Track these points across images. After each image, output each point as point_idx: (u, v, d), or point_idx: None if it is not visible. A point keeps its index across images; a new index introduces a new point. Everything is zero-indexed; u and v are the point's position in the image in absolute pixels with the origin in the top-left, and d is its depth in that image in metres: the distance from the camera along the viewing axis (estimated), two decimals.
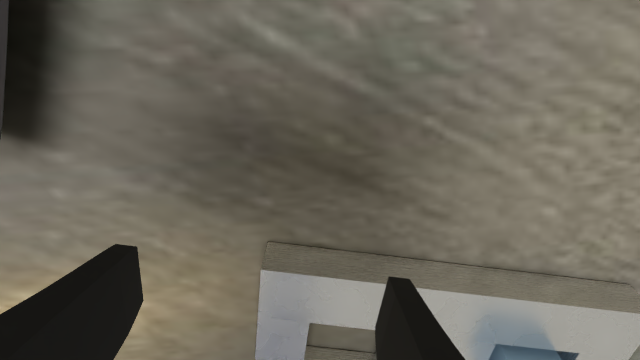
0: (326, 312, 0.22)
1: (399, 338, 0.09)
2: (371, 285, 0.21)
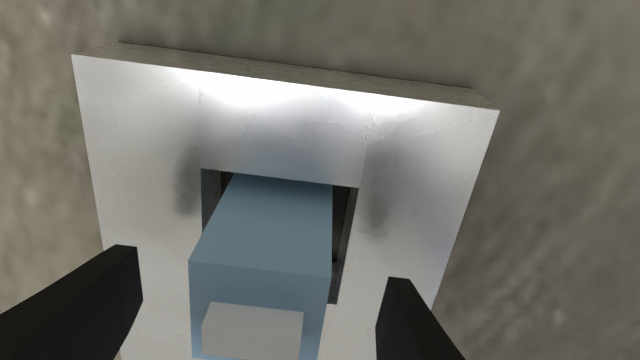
0: None
1: (399, 338, 0.09)
2: None
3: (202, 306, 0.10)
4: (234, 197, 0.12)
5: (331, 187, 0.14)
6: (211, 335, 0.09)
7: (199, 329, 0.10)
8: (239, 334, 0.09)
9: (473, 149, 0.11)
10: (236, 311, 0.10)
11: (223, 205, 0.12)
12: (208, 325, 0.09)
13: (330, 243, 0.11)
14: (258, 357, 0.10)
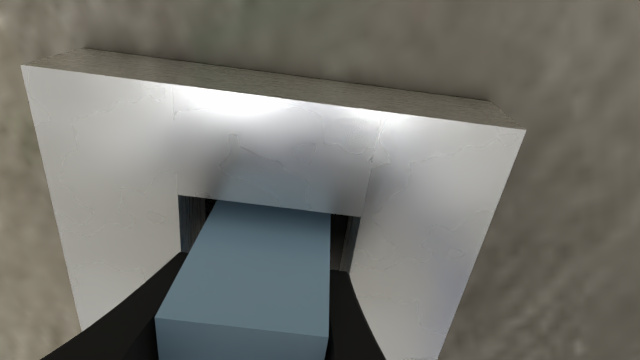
0: None
1: None
2: None
3: None
4: (216, 228, 0.11)
5: (329, 213, 0.12)
6: None
7: None
8: None
9: (494, 174, 0.10)
10: None
11: (203, 239, 0.10)
12: None
13: (327, 288, 0.09)
14: None
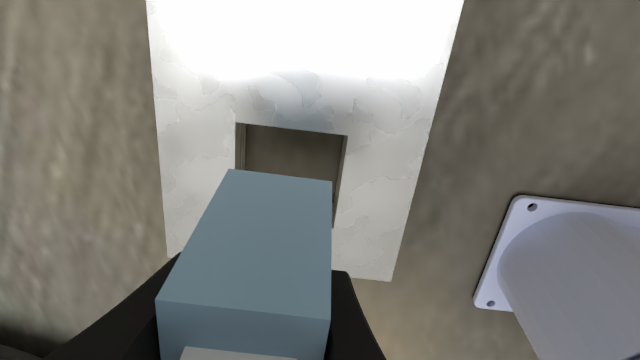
0: None
1: None
2: (163, 154, 0.18)
3: (176, 351, 0.08)
4: (217, 215, 0.10)
5: (330, 201, 0.12)
6: None
7: None
8: None
9: None
10: (215, 359, 0.08)
11: (203, 225, 0.10)
12: None
13: (329, 273, 0.09)
14: None
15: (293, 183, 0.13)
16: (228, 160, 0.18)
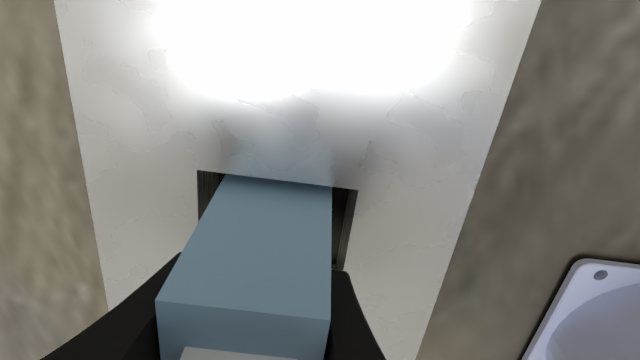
0: None
1: None
2: (97, 211, 0.13)
3: (176, 352, 0.08)
4: (217, 215, 0.10)
5: (330, 201, 0.12)
6: None
7: None
8: None
9: None
10: (215, 359, 0.08)
11: (203, 225, 0.10)
12: None
13: (329, 273, 0.09)
14: None
15: (293, 183, 0.13)
16: (189, 220, 0.13)
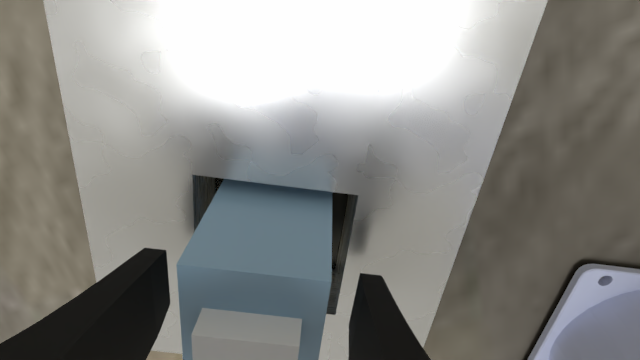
0: None
1: (366, 335, 0.09)
2: (90, 217, 0.12)
3: (193, 313, 0.09)
4: (228, 196, 0.12)
5: None
6: (202, 344, 0.09)
7: (190, 337, 0.10)
8: (232, 343, 0.09)
9: None
10: (229, 318, 0.09)
11: (216, 204, 0.11)
12: (199, 334, 0.09)
13: (330, 244, 0.10)
14: None
15: None
16: (184, 226, 0.12)
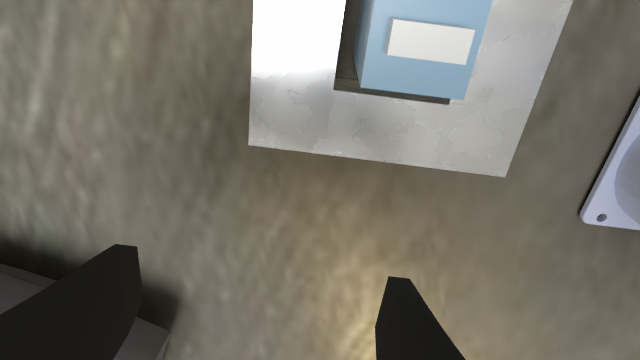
0: (312, 66, 0.16)
1: (399, 338, 0.09)
2: (258, 2, 0.15)
3: (382, 23, 0.12)
4: None
5: None
6: (399, 30, 0.11)
7: (373, 51, 0.12)
8: (423, 29, 0.11)
9: None
10: (414, 20, 0.12)
11: None
12: (398, 20, 0.11)
13: None
14: (434, 56, 0.12)
15: None
16: (336, 10, 0.15)
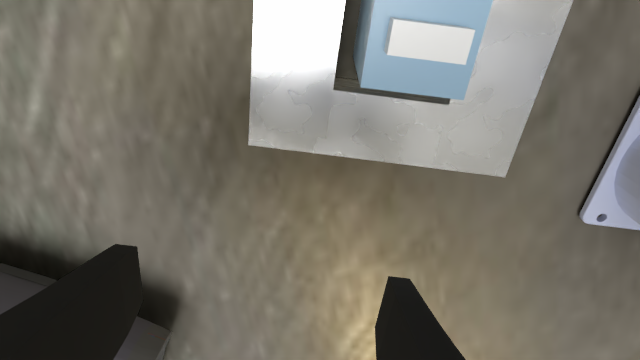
0: (312, 66, 0.16)
1: (399, 339, 0.09)
2: (258, 2, 0.15)
3: (382, 23, 0.12)
4: None
5: None
6: (399, 30, 0.11)
7: (373, 51, 0.12)
8: (423, 29, 0.11)
9: None
10: (414, 20, 0.12)
11: None
12: (398, 19, 0.11)
13: None
14: (434, 56, 0.12)
15: None
16: (336, 10, 0.15)
